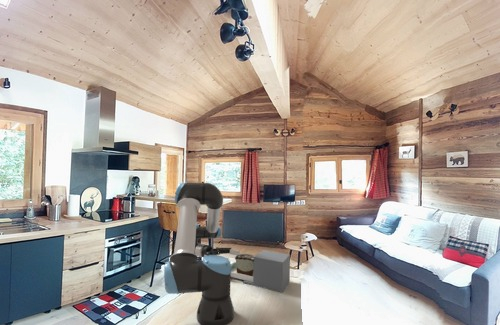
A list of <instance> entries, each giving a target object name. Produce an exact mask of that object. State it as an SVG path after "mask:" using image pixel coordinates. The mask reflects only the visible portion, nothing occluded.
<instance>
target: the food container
mask: <svg viewBox="0 0 500 325" xmlns="http://www.w3.org/2000/svg"><path fill="white" fill-rule="evenodd" d="M255 256H256V255H252V254H250V253H249V254H248V253H242V254H240V255H235V257H234V260H235V262H236V270H237V273H239V274H244V275H248V276H253V273H254V257H255Z"/></svg>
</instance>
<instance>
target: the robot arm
mask: <svg viewBox="0 0 500 325" xmlns="http://www.w3.org/2000/svg"><path fill="white" fill-rule="evenodd" d="M174 203H175V205H176V206H177V208H178V209H179V214H178V221H177V229H176V237H175V243H174V244H175V245H174V251H173V253H172V255H170V257H169V261H166V262H164V270H163V271H164V273H163V274H164V275H163V277H164V280H163V281H164V282H163V283H164V289H165V292H166V293H167V294H170V295H172V294H176V295H179V294H189V293H190V294H192V293H201V298H200V302H199V304H198V306H197V310H196V321H197V322H198V323H199V324H200V325H228V324H229V323H231V322H232V321H233V319H234V317H235V309H234V308H235V307H234V305H233V301H232V298H231V278H232V277H231V264H232V263H231V260H229V257H226V256H222V254H229V255H232V256H233V255H234V256H237V255H240V250H238V249H233V248H232V247H218V246H217V247H215V248H213V246H212V245H210V244H204V243H199V239H219V238H221V237H222V228H221V226H220V216H221V208H222V206H223V205H224V198H223V194H222V192H221V190H220V189H219V188H218V187H216V186H215V185H214V184H213V183H209V182H187V181H186V182H180V183H178V185H177V186H176V189H175V196H174ZM202 205H205V206H206V207H207V208H206V209H207V210H206V226H200V225H199V223H198V222H197V221H198V210H200V209H201V206H202ZM199 258H202V260H199Z"/></svg>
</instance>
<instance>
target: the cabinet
mask: <svg viewBox="0 0 500 325" xmlns="http://www.w3.org/2000/svg"><path fill="white" fill-rule="evenodd" d="M254 256H255V257H254V277H253V282H251V281H247V280H243V282H242V283H243V284H245V285H249V286H252V287H253V286H255V287H258V288H263V289H266V290H271V291H276V292H278V293H279V292H280V293H284V291H285V290H286V288H287V287H286V286H289V284H288V283H290V279H291V277H290V275H291V274H290V271H291V269H290V268H291V254H289V253H282V252H277V251H272V250H266V249H262V250H261V251H260V252H258V253H257V254H256V255H254Z"/></svg>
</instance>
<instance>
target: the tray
mask: <svg viewBox="0 0 500 325" xmlns="http://www.w3.org/2000/svg"><path fill="white" fill-rule="evenodd" d="M230 264H231V277H230V278H233V279H234V278H235V279H239V280H243V281H244V280H247V281H251V282H253V277H254V273H253V276H248V275H244V274H239V273H237V270H236V261H233V262H232V263H230Z"/></svg>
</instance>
